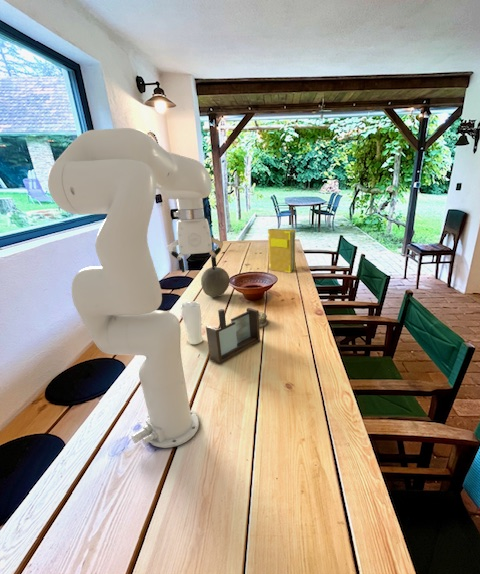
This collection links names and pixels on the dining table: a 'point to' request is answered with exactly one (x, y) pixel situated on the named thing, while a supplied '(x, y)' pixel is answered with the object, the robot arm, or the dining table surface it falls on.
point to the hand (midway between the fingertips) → (198, 270)
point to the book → (281, 250)
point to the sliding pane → (226, 334)
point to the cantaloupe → (215, 281)
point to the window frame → (244, 332)
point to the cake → (262, 319)
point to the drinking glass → (192, 321)
